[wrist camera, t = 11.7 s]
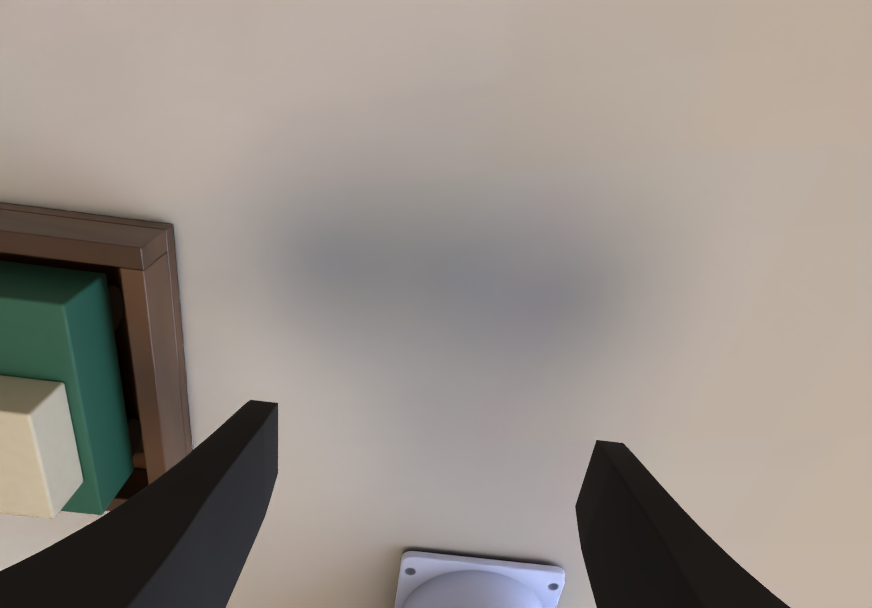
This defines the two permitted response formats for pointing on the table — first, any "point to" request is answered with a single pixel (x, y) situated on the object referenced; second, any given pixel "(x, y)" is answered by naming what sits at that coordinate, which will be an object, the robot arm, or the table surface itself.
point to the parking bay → (123, 317)
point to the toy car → (61, 392)
